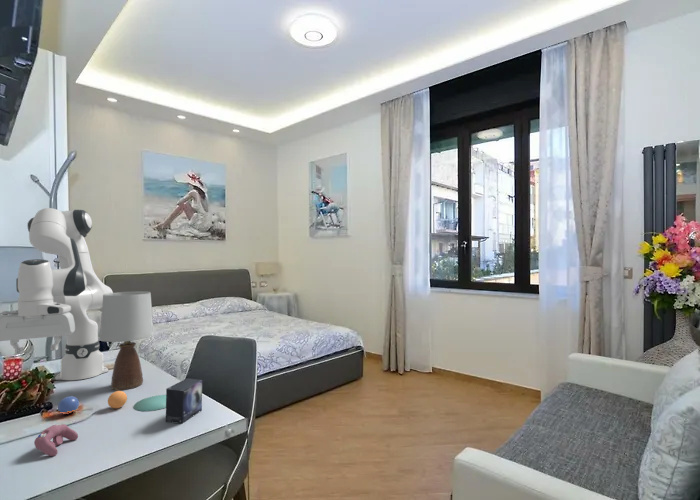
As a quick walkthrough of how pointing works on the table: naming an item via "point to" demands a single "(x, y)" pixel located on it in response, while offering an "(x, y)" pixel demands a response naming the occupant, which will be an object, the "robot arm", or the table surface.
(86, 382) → the table surface
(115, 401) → the object ball
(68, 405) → the blue ball
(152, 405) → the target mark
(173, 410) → the small box
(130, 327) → the lamp
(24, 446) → the table surface
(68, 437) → the video game controller
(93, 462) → the table surface
